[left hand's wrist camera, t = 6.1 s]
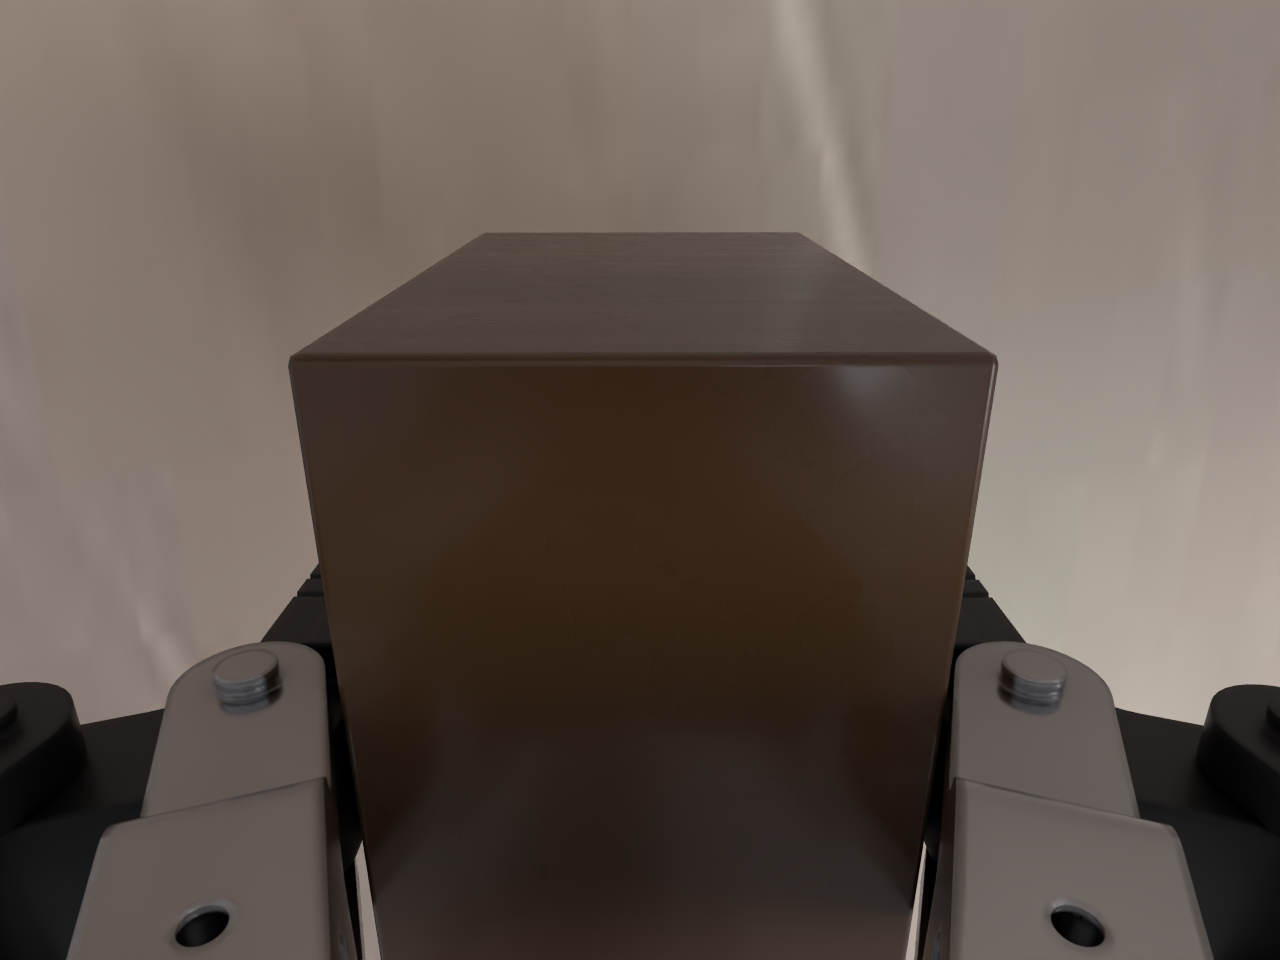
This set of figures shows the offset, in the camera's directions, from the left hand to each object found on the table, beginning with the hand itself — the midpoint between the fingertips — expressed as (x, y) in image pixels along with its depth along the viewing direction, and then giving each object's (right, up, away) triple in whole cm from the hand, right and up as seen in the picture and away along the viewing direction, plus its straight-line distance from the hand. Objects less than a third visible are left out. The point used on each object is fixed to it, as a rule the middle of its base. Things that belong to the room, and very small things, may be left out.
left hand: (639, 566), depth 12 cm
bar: (0, -7, +6) cm, 9 cm away
